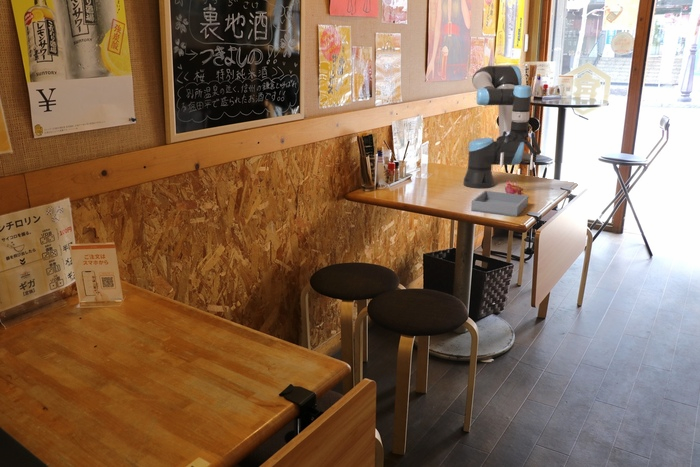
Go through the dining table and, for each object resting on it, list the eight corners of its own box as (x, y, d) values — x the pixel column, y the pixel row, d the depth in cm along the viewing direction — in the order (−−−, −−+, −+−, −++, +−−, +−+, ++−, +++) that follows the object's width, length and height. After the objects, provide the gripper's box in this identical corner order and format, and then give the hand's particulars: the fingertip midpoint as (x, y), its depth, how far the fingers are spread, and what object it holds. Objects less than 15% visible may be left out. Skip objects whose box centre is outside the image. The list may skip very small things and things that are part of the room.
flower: (507, 198, 261) (518, 183, 260) (495, 189, 269) (506, 175, 267) (518, 206, 267) (529, 193, 265) (506, 198, 274) (517, 184, 273)
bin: (471, 210, 248) (471, 200, 247) (484, 200, 265) (485, 190, 263) (516, 217, 239) (517, 206, 238) (527, 205, 256) (528, 195, 254)
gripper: (490, 120, 259) (487, 166, 266) (547, 123, 248) (542, 171, 254) (494, 118, 265) (491, 163, 272) (550, 121, 254) (545, 168, 261)
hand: (516, 167), depth 263 cm, fingers open, 13 cm apart
